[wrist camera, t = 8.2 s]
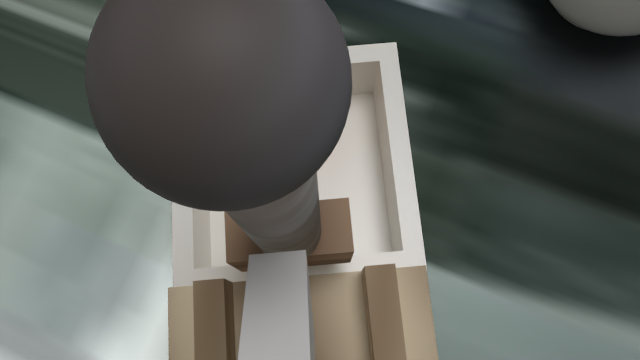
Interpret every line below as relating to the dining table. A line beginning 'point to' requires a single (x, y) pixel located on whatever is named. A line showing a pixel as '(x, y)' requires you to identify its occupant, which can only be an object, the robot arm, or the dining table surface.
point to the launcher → (316, 316)
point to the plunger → (229, 114)
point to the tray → (338, 184)
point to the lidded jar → (602, 15)
